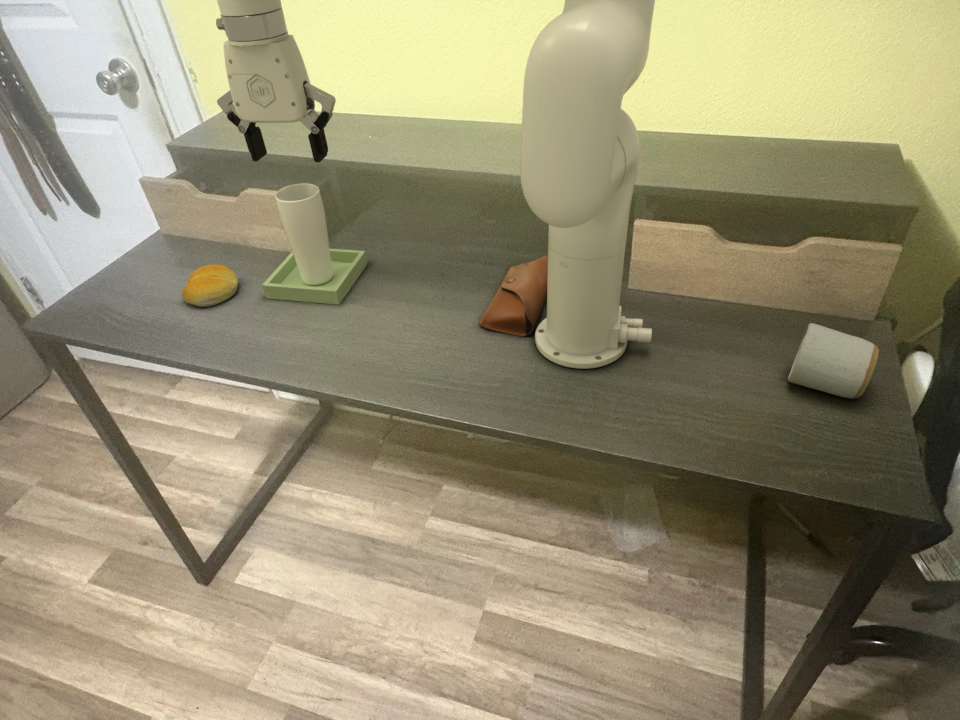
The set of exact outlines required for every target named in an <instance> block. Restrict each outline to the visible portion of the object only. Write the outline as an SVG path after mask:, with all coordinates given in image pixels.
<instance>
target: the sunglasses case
mask: <svg viewBox="0 0 960 720" xmlns="http://www.w3.org/2000/svg"><path fill="white" fill-rule="evenodd" d="M547 281H548V253H546V254H544V255H542V256H541V257H538V258H537V259H533V260H529V261H526V262H523V263H520V264H517V265H511V266H510V267H509V268H508V269H507V272H506V274H505V276H504V278H503V280H502V281H501V283H500V285H499V287H498V289H497V291H496V292H495V293H494V296H493V297H492V300H491V301H490V303H489V304H488V306H487V308H486V309H485V311H484V312H483V314H482V316H481V318H480V320H479V323H478V325H479V326H480V327H482V328H483V329H487V330H490V331H493V332H497V333H500V334H507V335H512V336H517V337H522V338H523V337H528V336H529V335H531V334H532V333H533V331H535V328H536V325H537V323H538V320H539V318H540V314H541V313H542V311H543V308H544V305H545V303H546V301H547Z"/></svg>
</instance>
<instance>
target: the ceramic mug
mask: <svg viewBox="0 0 960 720" xmlns="http://www.w3.org/2000/svg"><path fill="white" fill-rule="evenodd" d="M879 353H880V351H879V348H878V346H877V345H876V344H875V343H873V342H872V341H869V340H866V339H864V338H862V337H859V336H855V335H851V334H847V333H845V332H842V331H839V330H835V329H832V328H830V327H826V326H824V325H821V324H817V323H813V322H810V323H809V324H808V325H807V327H806V329H805V333H804V335H803V337H802V340H801V342H800V345H799V348H798V350H797V353H796V356H795V358H794V361H793V363H792V366H791V369H790V372H789V375H788V378H787V381H788V383H792V384H795V385H799V386H802V387H805V388H809V389H812V390H815V391H816V390H817V391H819V392H824V393H827V394H830V395H833V396H837V397H841V398H846V399H858V398H860V397H862V395H863V394H864V393H865V391H866V389H867V388H868V385H869V383H870V381H871V379H872V376H873V373H874V370H875V368H876V365H877V362H878V358H879Z"/></svg>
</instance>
